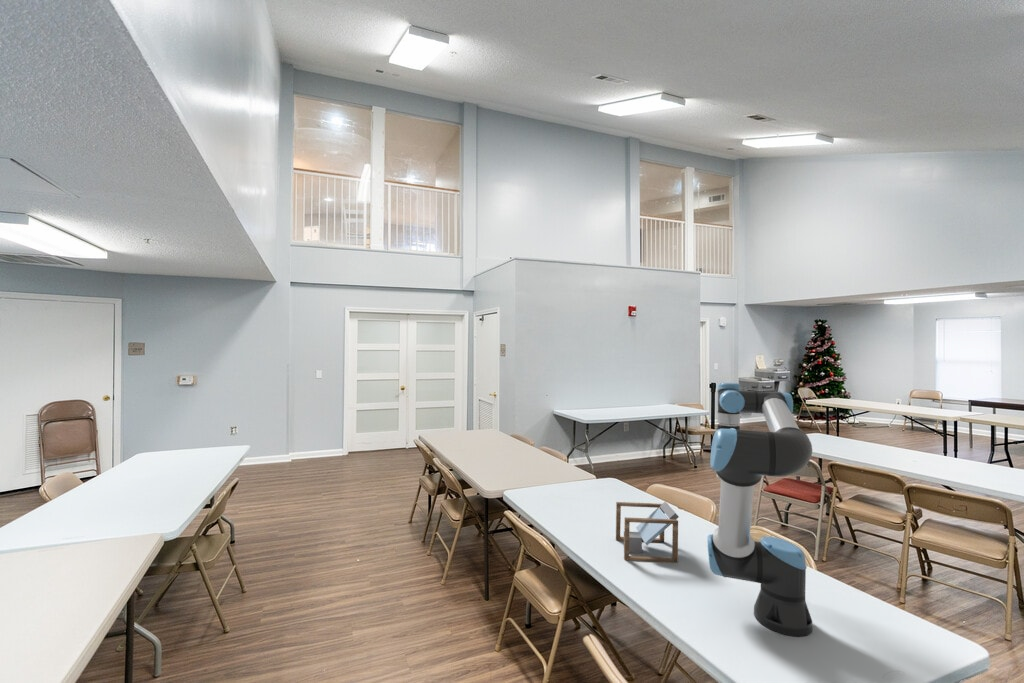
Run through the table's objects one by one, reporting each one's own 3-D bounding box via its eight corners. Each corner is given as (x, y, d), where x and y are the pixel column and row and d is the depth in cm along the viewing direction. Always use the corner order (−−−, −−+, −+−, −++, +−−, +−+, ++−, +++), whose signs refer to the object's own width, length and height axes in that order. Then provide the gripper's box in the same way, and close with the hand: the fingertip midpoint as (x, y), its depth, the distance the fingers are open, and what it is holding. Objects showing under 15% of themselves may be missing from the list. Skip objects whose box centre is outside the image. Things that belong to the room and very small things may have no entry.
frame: (677, 562, 174) (678, 521, 174) (624, 560, 175) (625, 518, 175) (663, 540, 194) (663, 503, 194) (615, 538, 195) (616, 501, 195)
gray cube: (641, 537, 182) (626, 537, 182) (641, 553, 181) (626, 552, 182) (638, 531, 188) (623, 531, 188) (638, 546, 187) (623, 546, 188)
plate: (679, 517, 176) (676, 513, 176) (647, 546, 177) (644, 542, 177) (667, 504, 192) (664, 500, 192) (638, 530, 193) (635, 526, 193)
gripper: (755, 430, 156) (754, 493, 155) (725, 419, 181) (724, 473, 180) (732, 429, 156) (732, 492, 156) (705, 419, 181) (705, 473, 180)
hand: (728, 482), depth 168 cm, fingers open, 13 cm apart
